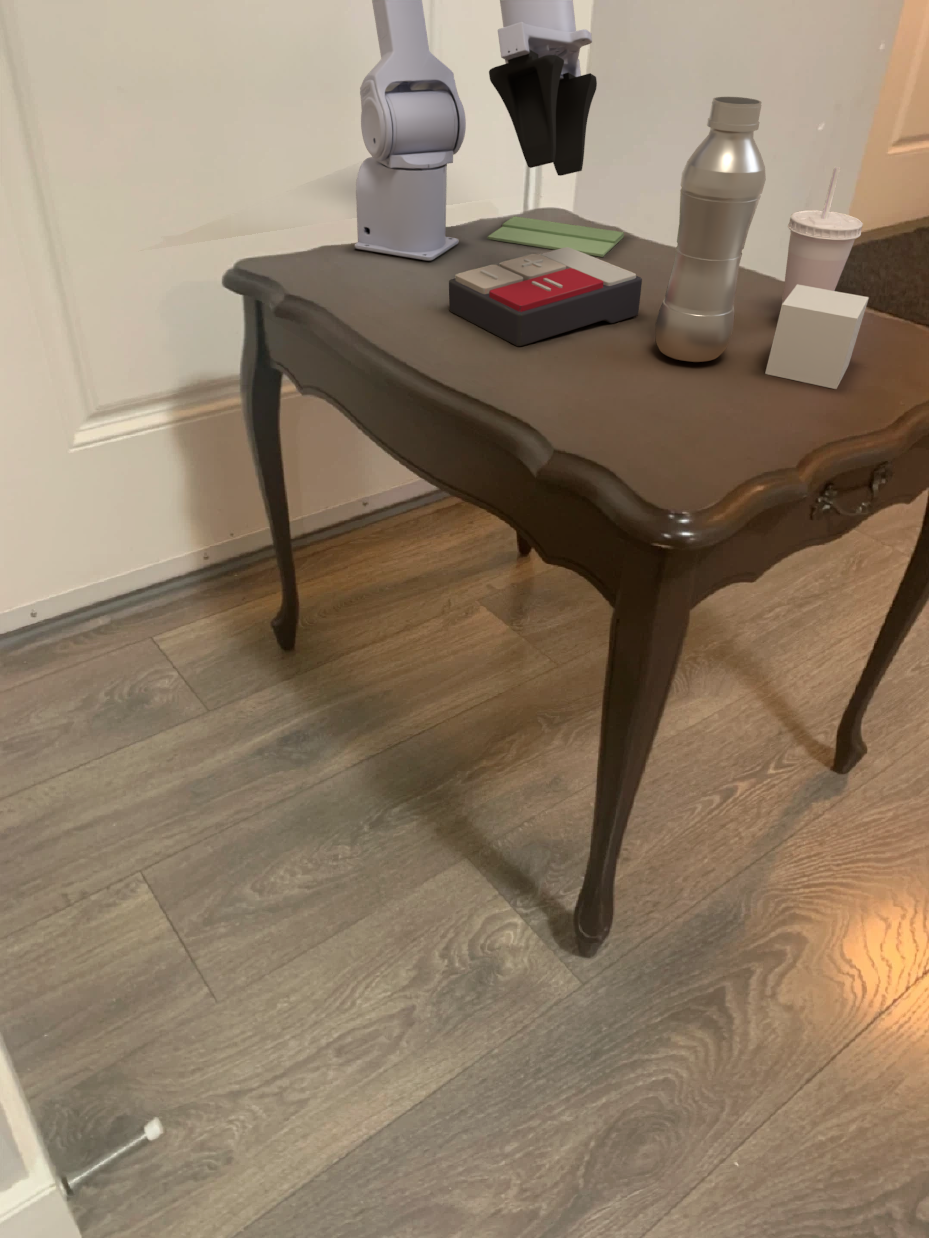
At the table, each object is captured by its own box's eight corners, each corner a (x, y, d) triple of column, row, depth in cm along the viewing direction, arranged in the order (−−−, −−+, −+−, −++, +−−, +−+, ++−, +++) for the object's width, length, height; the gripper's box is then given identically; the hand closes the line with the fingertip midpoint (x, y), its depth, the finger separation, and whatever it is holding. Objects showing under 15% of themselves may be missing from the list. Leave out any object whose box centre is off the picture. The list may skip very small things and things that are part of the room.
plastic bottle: (636, 347, 83) (675, 95, 71) (699, 339, 86) (747, 92, 74) (676, 375, 79) (725, 110, 67) (742, 365, 81) (800, 106, 69)
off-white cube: (764, 374, 80) (781, 304, 76) (780, 351, 84) (796, 284, 80) (837, 389, 78) (857, 318, 74) (849, 365, 82) (869, 297, 78)
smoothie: (753, 324, 89) (789, 165, 81) (785, 308, 93) (822, 155, 85) (815, 342, 86) (859, 179, 77) (845, 325, 90) (891, 168, 81)
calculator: (446, 271, 87) (568, 240, 94) (447, 316, 90) (565, 282, 97) (519, 306, 80) (645, 270, 87) (518, 354, 83) (640, 315, 90)
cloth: (487, 239, 109) (487, 234, 108) (514, 221, 115) (514, 215, 115) (602, 257, 105) (603, 251, 104) (623, 237, 111) (624, 232, 111)
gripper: (553, -62, 66) (576, 148, 70) (607, -9, 78) (624, 166, 82) (462, -30, 69) (490, 169, 73) (529, 15, 81) (549, 183, 85)
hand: (556, 169), depth 78 cm, fingers open, 7 cm apart
